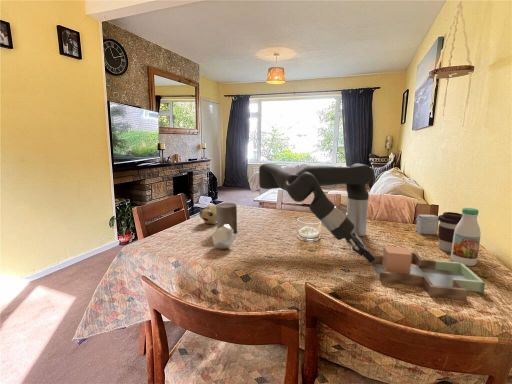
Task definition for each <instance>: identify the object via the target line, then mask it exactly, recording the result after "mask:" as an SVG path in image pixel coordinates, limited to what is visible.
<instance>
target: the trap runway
mask: <svg viewBox="0 0 512 384" xmlns="http://www.w3.org/2000/svg"><path fill="white" fill-rule="evenodd" d="M409 252H410V253H411V254H412V260H411V262H413V263H414V264H415V265H416V266H413V265H411V269H410V274H405V273H394V272H384V271H383V269H382V261H383V255H376V254H372V255H373V256H374V258H375V260H374V261H373V262H371V263H372V264H371V265H372V267H373V268H374V271H375V273H376V276H377V277H378V280H379V282H382V283H392V284H402V285H410V286H411V285H412V286H419V287H420V286H421V287H423V289H424V290H425V292H426V294H427V295H428V296H429V297H432V298H441V299H449V300H451V299H452V300H461V301H467V297H468V292H470V291H469V290H467V289H466V288H465V287H464V286H463V285H462V284H461V283H460V282H459V281H458V280H453V287H451V283H452V278H456V279H466V278H465V277H464V276H463V275H462V274H461V273H460V272H457V271H446V270H435V267H436V261H435V260H436V259H435V260H434V259H424V258H422V257H421V256H420V255H419V254H418V253H417V252H414V251H413V252H412V251H409ZM466 280H467V279H466ZM475 293H477V294H479V295H480V294H481V295H484V293H483V292H478V291H475Z"/></svg>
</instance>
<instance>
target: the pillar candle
mask: <svg viewBox="0 0 512 384" xmlns="http://www.w3.org/2000/svg"><path fill="white" fill-rule="evenodd" d="M215 205H216V209H217V221H216V230H217V229H218V228H221V227H222V226H223V225H224V224H228V225H230V226H231V228H232V229H233V230H234V232H233V234H235V233H236V234H237V233H238V213H237V210H238V209H237V204H236V203H235V202H233V203H231V202H223V203H218V204H215ZM236 234H235V235H236Z"/></svg>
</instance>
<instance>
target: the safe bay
mask: <svg viewBox="0 0 512 384" xmlns="http://www.w3.org/2000/svg"><path fill="white" fill-rule="evenodd" d="M435 261H436V267H435V270H446V271H457V272H460V273H461V274H462V275H463V276H464V277H465V278H466V279H467V280H466V279H456V278H452V283H451V287H453V280H458V281H459V282H460V283H461V284H462V285H463V286H464V287H465V288H466V289H467V290H469V291H468V292H476V291H478V292H483V294H484V292H485V286H486V282H485V281H484V280H482V278H480V277H479V276H478V275H477V274H475V272H473V270H471V269H470V268H469V267H468V266H466V265H464V264H463V263H461V262H453V261H450V260H449V261H448V260H437V259H435Z"/></svg>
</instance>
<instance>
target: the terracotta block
mask: <svg viewBox="0 0 512 384" xmlns="http://www.w3.org/2000/svg"><path fill="white" fill-rule="evenodd" d="M382 251H383V252H382V256H383V261H382V269H383V271H384V272H394V273H405V274H410V269H411V266H412V261H411V260H412V254H411V253H410V252H411V251H410V250H409V249H408V248H407V247H400V246H387V245H383V250H382Z"/></svg>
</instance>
